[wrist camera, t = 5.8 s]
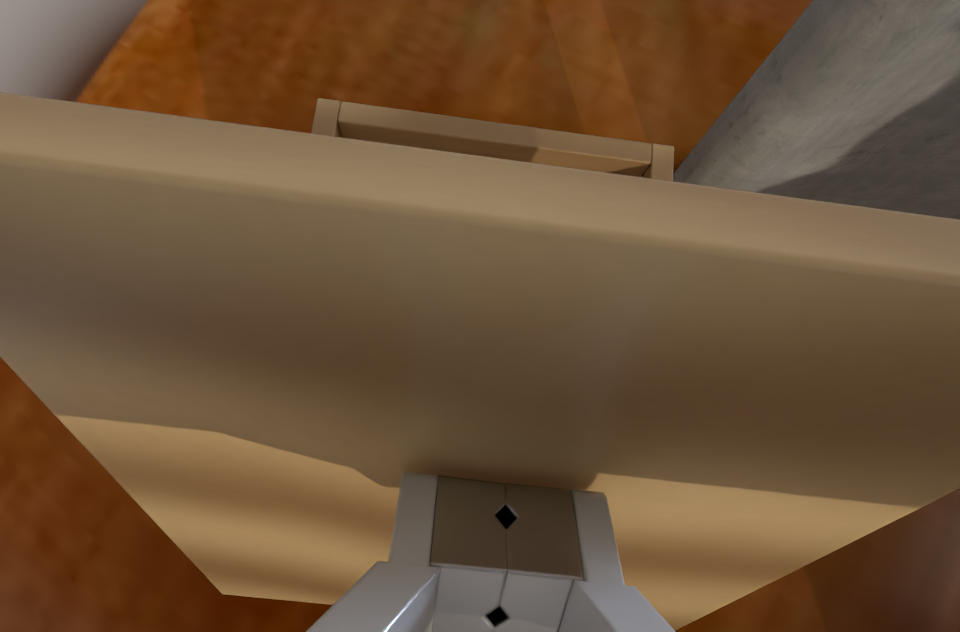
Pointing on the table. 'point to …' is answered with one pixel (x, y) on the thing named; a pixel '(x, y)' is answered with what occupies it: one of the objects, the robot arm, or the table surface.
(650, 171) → the keepsake box
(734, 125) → the hip flask
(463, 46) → the table surface
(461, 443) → the lid
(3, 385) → the table surface
